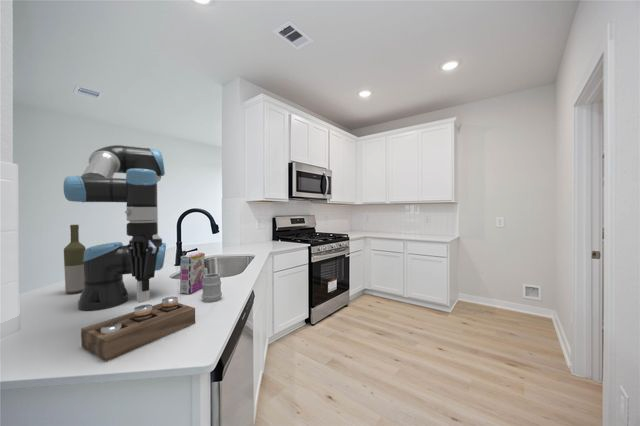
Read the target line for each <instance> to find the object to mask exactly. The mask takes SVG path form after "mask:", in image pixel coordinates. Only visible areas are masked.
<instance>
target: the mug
mask: <svg viewBox="0 0 640 426" xmlns="http://www.w3.org/2000/svg"><path fill="white" fill-rule="evenodd" d="M221 284H222V281H221V274H220V273H209V272H208V268H207V267H204V273H203V279H202V288H201V289H202V294H201V299H202V301H203V302H205V303H213V302H217V301H219V300H221V299H222V295H223V293H222V289H221Z"/></svg>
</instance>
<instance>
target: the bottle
mask: <svg viewBox="0 0 640 426" xmlns="http://www.w3.org/2000/svg"><path fill="white" fill-rule="evenodd" d="M69 228H70V242H69V243H68V244H67V245H66V246H65V247H64V248H63V261H64V262H63V264H64V265H63V268H64V283H65V284H64V285H65V288H64V289H65V294H67V295H75V294H80V293H82V291H83V288H84V262H83V260H84V251H85V250H86V249H87V248H86V246H85V245H84V244H83V243H81V242H80V241H79V240H80V239H79V238H80V237H79V236H80V235H79V233H80V231H79V230H80V229H79V228H80V225H79V224H70V226H69Z"/></svg>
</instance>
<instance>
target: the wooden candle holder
mask: <svg viewBox="0 0 640 426" xmlns="http://www.w3.org/2000/svg"><path fill="white" fill-rule="evenodd" d="M152 312H153V313H152V318H151V319H148V320H145V321H142V322H139V323H137V322H135V321H134V311H132V312H128V313H126V314H122V315H119V316H115V317H114V318H110V319H107V320H103V321H100V322H98V323H94V324H91V325H88V326H85V327H82V328H81V329H80V331H81V332H80V333H81V335H80V337H81V345H80V346H81V348H83V349H84V350H87V351H88V353H91V354H92V355H95V356H96V357H97V358H100V359H101V360H103V361H104V362H109V361H111V360H114V359H115V358H117V357H120V356H122V355H125V354H127V353H130V352H132V351H134V350H137V349H139V348H141V347H144V346H146V345H147V344H150V343H153V342H155V341H157V340H160V339H162V338H164V337H166V336H169V335H171V334H174V333H176V332H177V331H178V332H179V331H180V330H183V329H185V328H188V327H189V326H192V325H194V324H196V307H193V306H189V305H186V304H183V303H181V302H178V309H176V310H173V311H170V312H168V313H166V312H163V311H162V302H161V303H157V304H153V305H152ZM112 323H121V324H122V329H120V330H117V331H114V332H111V333H108V334H106V335H103V334H101V328H102V327H103V326H105V325H108V324H112Z"/></svg>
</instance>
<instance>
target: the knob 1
mask: <svg viewBox="0 0 640 426" xmlns="http://www.w3.org/2000/svg"><path fill="white" fill-rule="evenodd" d="M120 329H122V324H121V323H112V324H108V325H105V326H103V327H102V328H101V334H103V335H106V334H108V333H111V332H114V331H117V330H120Z"/></svg>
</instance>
